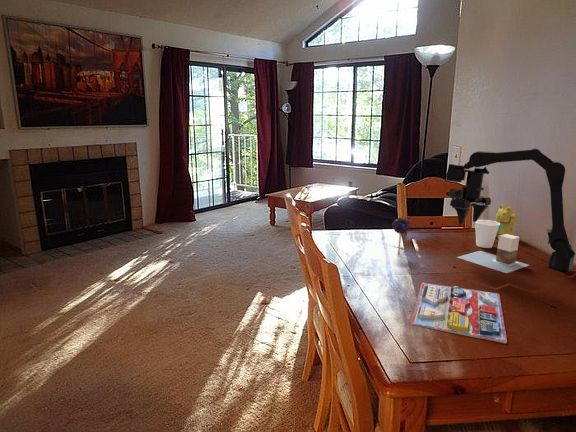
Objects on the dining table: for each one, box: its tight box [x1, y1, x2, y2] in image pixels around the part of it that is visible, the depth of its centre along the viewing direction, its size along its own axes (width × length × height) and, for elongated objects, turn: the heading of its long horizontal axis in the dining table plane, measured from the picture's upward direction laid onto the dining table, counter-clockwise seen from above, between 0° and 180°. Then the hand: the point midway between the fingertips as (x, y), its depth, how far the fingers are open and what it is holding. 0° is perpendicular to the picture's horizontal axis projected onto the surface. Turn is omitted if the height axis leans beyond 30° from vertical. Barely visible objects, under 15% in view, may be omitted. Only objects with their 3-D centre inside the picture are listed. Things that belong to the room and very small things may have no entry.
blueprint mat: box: [456, 250, 530, 274], centre depth 158 cm, size 20×16×1 cm
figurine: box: [495, 204, 518, 239], centre depth 192 cm, size 11×9×15 cm
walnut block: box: [495, 247, 518, 265], centre depth 157 cm, size 5×5×5 cm
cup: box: [474, 219, 500, 249], centre depth 176 cm, size 10×10×11 cm
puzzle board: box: [410, 282, 508, 345], centre depth 119 cm, size 30×23×3 cm
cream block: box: [497, 234, 520, 252], centre depth 156 cm, size 5×5×5 cm
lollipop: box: [391, 217, 411, 255], centre depth 165 cm, size 7×7×15 cm
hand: (467, 223), depth 163 cm, fingers open, 9 cm apart
